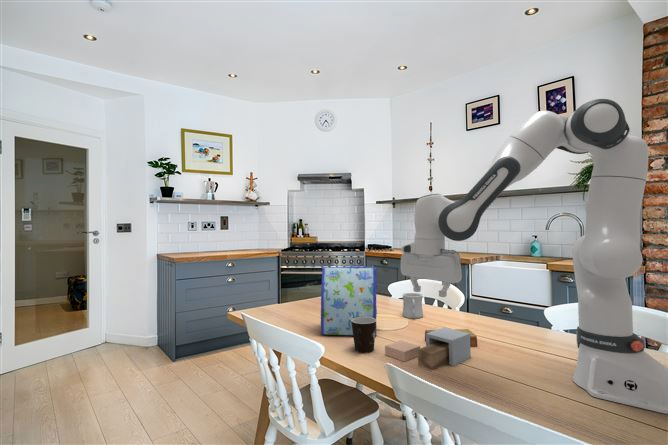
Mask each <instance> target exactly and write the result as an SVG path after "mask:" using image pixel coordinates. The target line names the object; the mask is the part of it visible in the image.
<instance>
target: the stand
mask: <svg viewBox="0 0 668 445" xmlns="http://www.w3.org/2000/svg"><path fill="white" fill-rule="evenodd" d="M420 348H421V345H420V344H415V343H412V342H408V341H405V340H398V341H395V342H391V343H389V344H386V345H385V346H384V355H385V356H387V357H390V358H393V359H395V360H399V361H402V362H407V361H410V360H412V359H416V358H418V349H420Z"/></svg>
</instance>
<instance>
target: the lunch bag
mask: <svg viewBox="0 0 668 445" xmlns="http://www.w3.org/2000/svg"><path fill="white" fill-rule="evenodd" d="M377 271H378V269H377V267H375V266H373V267H372V266H368V265H367V266H366V265H365V266H323V267H322V273H321V286H320V290H321V291H320V292H321V293H320V335H329V336H331V335H332V336H333V335H334V336H353V331H352V323H351V320H352V319H353V318H357V317H370V318H374V319H376V320H377V317H378V316H377V315H378V309H377V308H378V307H377V287H378V286H377ZM375 337H377V329H376V331H375Z"/></svg>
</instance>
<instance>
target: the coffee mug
mask: <svg viewBox="0 0 668 445" xmlns="http://www.w3.org/2000/svg"><path fill="white" fill-rule="evenodd" d="M351 323H352V331H353V335H352V337H353V343H354V344H353V345H354V350H355V352H357V353H361V354H370V353H372V352H374V350H375V342H376V341H375V340H376V336H375V331H376V330H377V318H376V319H374V318H370V317H357V318H353V319H352V320H351ZM376 332H377V331H376Z"/></svg>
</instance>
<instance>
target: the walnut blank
mask: <svg viewBox="0 0 668 445" xmlns="http://www.w3.org/2000/svg"><path fill="white" fill-rule="evenodd" d="M417 360H418V361H417V366H419V367H423V368H425V369H428V370H431V371H434V370H436V369H438V368H440V367H442V366H444V365H445V366H446V365H447V364H449V343H447V342H443V341H439V342H436V343H433V344H431V345H428V346H426V345H425V346H423V347H420V349H418V357H417Z"/></svg>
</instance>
